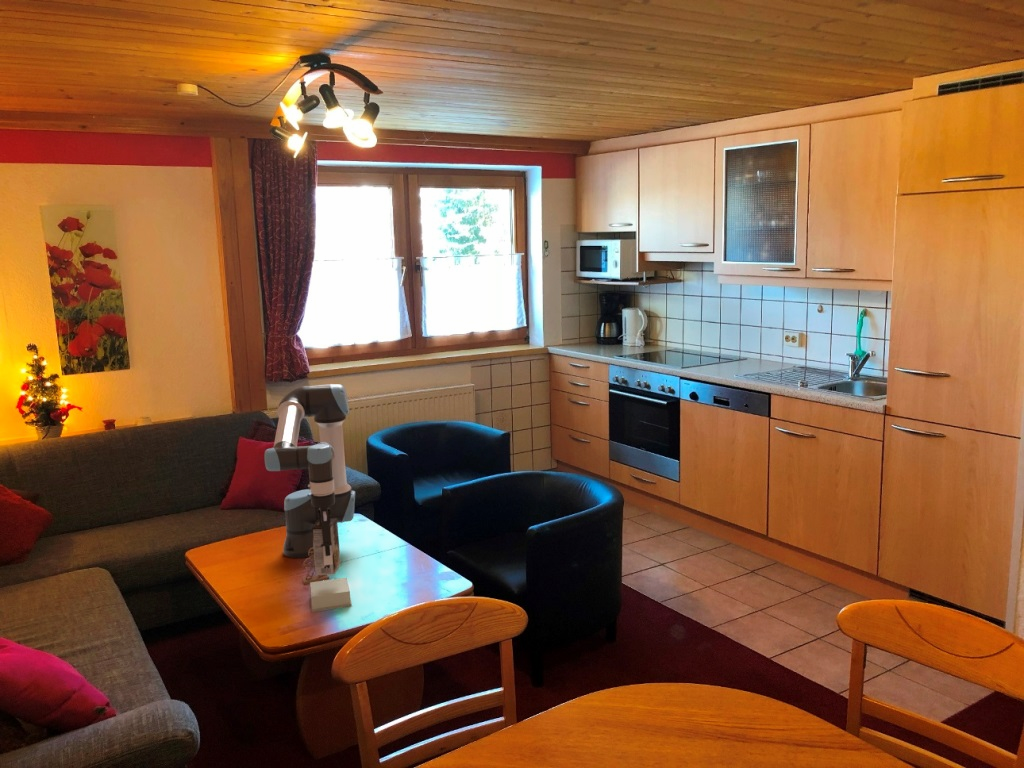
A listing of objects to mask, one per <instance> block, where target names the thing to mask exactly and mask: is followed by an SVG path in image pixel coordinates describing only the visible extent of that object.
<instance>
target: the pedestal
mask: <svg viewBox="0 0 1024 768" xmlns="http://www.w3.org/2000/svg"><path fill="white" fill-rule="evenodd" d="M309 586H310V594H309V595H310V596H309V598H310V606H311V607H310V608H311V613H315V612H320V611H326V610H327V611H328V610H333V609H334V610H335V609H341V608H347V607H352V606H353V605H352V604H353V603H352V599H351V593H350V592H351V591H350V586H349V583H348V577H341V578H332V579H328V580H324V581H317V582H310V584H309Z"/></svg>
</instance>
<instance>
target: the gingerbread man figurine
mask: <svg viewBox="0 0 1024 768" xmlns="http://www.w3.org/2000/svg"><path fill="white" fill-rule="evenodd" d="M311 549H314V548H313V547H312V548H310V549H309V551H308V555H309V553H311V554H312V553H313V552H314V551H313V552H312V551H311V552H310V550H311ZM311 554H310V555H311ZM310 555H309V556H310ZM308 560H311V561H312V562H313V564H312V562H311V561H310V562H307V563H306V561H308ZM302 568H303V569H305V570H306V569H308V568H309V570H308V572H307V574H306V576H305V577H304V578H301V583H302V584H303V585H304V586H307V585H310V582H317V581H323V580H330V575H316V574H315V562H314V555H311V556H310V557H306V559H304V561H303V563H302ZM312 569H313V572H312V574H311V575H310V572H311V570H312ZM314 574H315V575H314Z"/></svg>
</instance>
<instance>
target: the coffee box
mask: <svg viewBox="0 0 1024 768" xmlns="http://www.w3.org/2000/svg"><path fill="white" fill-rule="evenodd" d="M330 521H331V523H330V534H331V543H332V545H331V546H332V559H333V564H332V565H324V556H323V546H322V547H321V544H323V537H322V526H321V525H320V522H319V519H318V520H317V521H316V523H315V524H314V525H313V527H312V536H313V548H314V562H313V563H315V568H314V569H315V572H314V574H315V576H316V575H328V576H333V575H335V574H336V572H337V571H338V569H339V567H340V566H341V553H340V551H341V550H340V539H339V537H340V536H339V528H338V523H337V518H334V519H331V518H330ZM327 542H329V541H327Z"/></svg>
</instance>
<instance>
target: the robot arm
mask: <svg viewBox="0 0 1024 768" xmlns="http://www.w3.org/2000/svg"><path fill="white" fill-rule="evenodd" d="M276 413H277V417H278V422H277V426H276V427H277V428H276V430H275V431H276V432H275V437H274V443H273V444H274V445H273V447H271V448H267V449H266V450H264V465H265V468H266V470H267V471H269V472H282V471H293V470H304V469H305V470H306V469H307V470H308V475H309V476H308V477H309V484H307V487H308V489H307V488H306V489H300V490H296V491H294V492H292V493H289V494H288V495H286V497H285V498H284V501H283V502H284V503H283V504H284V505H283V506H284V508H283V510H284V517H285V518H284V519H285V530H286V536H285V539H284V543H283V547H282V549H283V550H282V551H283V555H284V556H285V557H288V558H293V559H302V558H310V556H311V555H314V552H313V551H314V549H311V550H310V552H311V551H312V552H313V553H312V554H311V553H309V555H310V554H311V555H310V556H309V555H308V551H309V549H310V548H312V547H313V536H312V527H313V525H314V524H315V523H316V521H317V520H318V519H319V522H320V525H321V526H322V537H323V544H321V547H322V546H323V556H324V565H332V564H333V559H332V546H331V545H332V543H331V534H330V523H331V521H330V518H331V519H334V518H337V524H338V523H341V524H342V523H345V522H351V521H353V519H354V516H355V515H354V514H355V502H356V491H355V490H352V487H351V485H350V484H349V483H347V481H348V480H347V472H346V471H347V470H346V460H345V459H346V458H345V456H346V455H345V443H344V431H343V430H344V429H343V423H344V422H345V421H346V420H347V417H346V416H348V415H349V414H350V406H349V399H348V395H347V391H346V388H345V387H344V386H343V384H340V383H339V384H334V383H330V384H329V383H327V384H317V385H301V386H298V387H296V388H293V389H292V390H290V391H289V392H288V393H286V394H285V395H284V397H282V399H281V400H280V402H279V404H278V406H277V412H276ZM304 418H313V419H314V423H315V424H317V425H318V430H319V432H318V433H319V442H318V443H317V444H316V443H315V444H312V445H304V446H303V445H302V446H298V440H299V436H300V435H299V433H300V430H301V429H300V427H301V421H302V420H303V419H304ZM327 541H329V542H327ZM311 557H312V556H311Z"/></svg>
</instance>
